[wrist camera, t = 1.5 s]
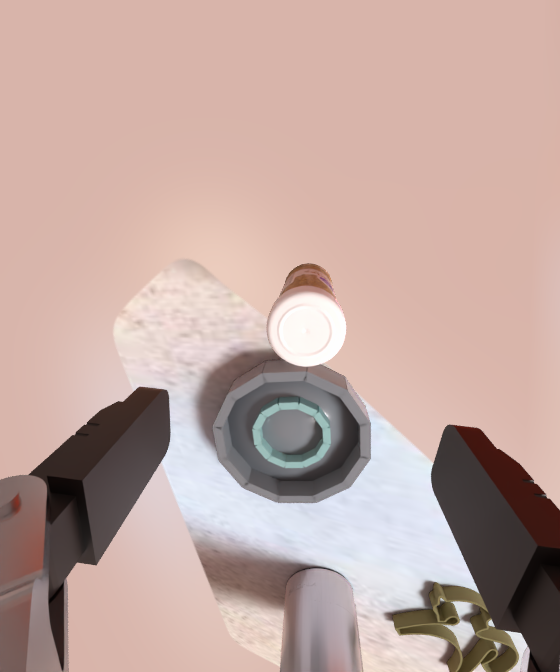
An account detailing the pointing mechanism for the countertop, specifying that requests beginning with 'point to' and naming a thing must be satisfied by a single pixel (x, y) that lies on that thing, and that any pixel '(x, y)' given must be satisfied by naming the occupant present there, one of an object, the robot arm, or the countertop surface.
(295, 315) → the sprinkles bottle
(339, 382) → the grey ring dish
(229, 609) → the countertop surface
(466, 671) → the cookie cutter
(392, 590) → the countertop surface
